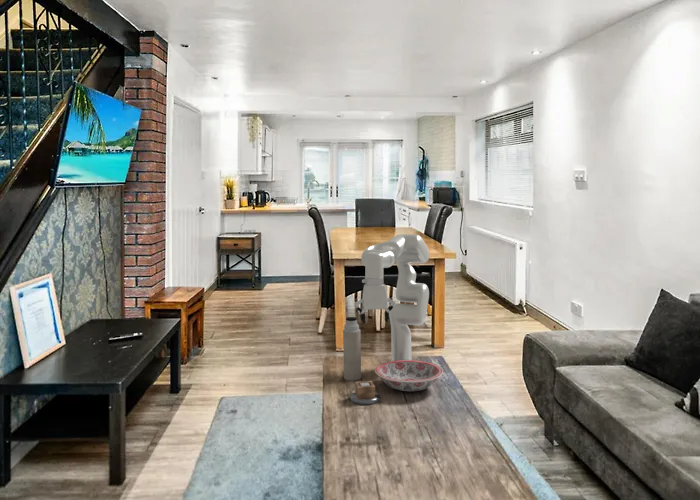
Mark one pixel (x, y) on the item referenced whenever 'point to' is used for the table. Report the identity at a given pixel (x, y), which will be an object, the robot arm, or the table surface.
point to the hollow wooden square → (365, 390)
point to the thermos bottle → (352, 349)
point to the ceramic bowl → (408, 374)
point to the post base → (365, 401)
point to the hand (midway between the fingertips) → (374, 322)
